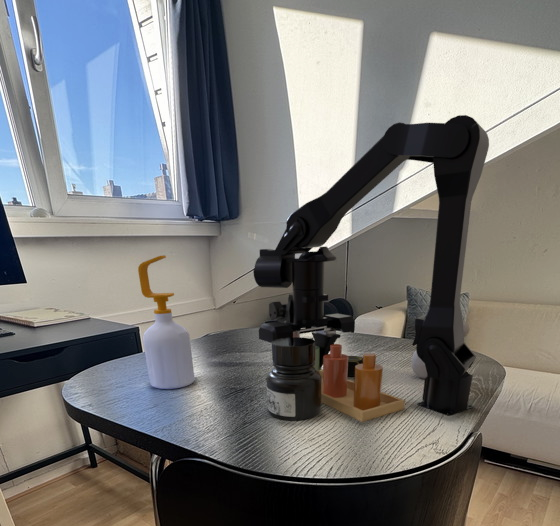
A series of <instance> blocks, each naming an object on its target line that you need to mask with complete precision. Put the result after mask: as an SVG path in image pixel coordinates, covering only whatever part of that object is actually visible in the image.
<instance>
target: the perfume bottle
mask: <svg viewBox="0 0 560 526" xmlns="http://www.w3.org/2000/svg"><path fill="white" fill-rule="evenodd" d="M463 328H464V338H466V337H467V336H468V335H469V333H470V324H469V323H468V322H467V321H465V320H463ZM410 367H411V369H412V371H413V373H414V374H415V376H416V377H418V378H420V379H422V380H425V378H426V377H427V371H426V367H425V363H424V362H423V361H422V360H421V359H420V358H419V357H418V355H417V351H416V350H414V352H413V354H412V356H411V360H410Z"/></svg>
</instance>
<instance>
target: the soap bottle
mask: <svg viewBox="0 0 560 526" xmlns="http://www.w3.org/2000/svg"><path fill="white" fill-rule="evenodd" d="M166 258H167V256H166V255H164V254H163V255H158V256H156V257H153V258H150V259H148V260H146V261H145V260H144V261H143V262H141V263H140V264H139V265H138V267H137V272H138V277H139V283H140V284H139V285H140V289H141V294H142V295H143V296H144V297H145V298H147V299H153V302H154V303H156V306H157V308H156V309H154V310H153V315H154V323H153V324H152V325H150V326H149V327H148V328H147V329H146V330H145V331H144V333H143V336H142V342H143V343H142V344H143V348H144V354H145V355H144V356H145V361H146V367H147V373H148V379H149V384H150V385H151V386H152V388H156V389H159V390H174V389H180V388H181V389H182V388H184V387H187V386H189V385H192V383H194V382H195V369H194V363H193V354H192V346H191V338H190V333H189V332H188V330H187V329H186V328H185V327H184V326H183V325H181V324H179V323H177V322H176V321H174V320H173V312H172V308H167V302H169V298H171V297H173V296H175V293H174V292H158V293H157V292H153V291H152V289H151V286H150V280H149V273H148V272H149V271H148V268H149V266H150V265H151V264H153V263H157V262H158V261H162V260H163V259H166Z"/></svg>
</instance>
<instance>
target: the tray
mask: <svg viewBox="0 0 560 526" xmlns="http://www.w3.org/2000/svg"><path fill="white" fill-rule="evenodd" d="M319 373H320V375H321V379H322V383H321V404H324V405H325V406H328V407H329V408H332V409H334V410H336V411H338V412H341V413H343V414H344V415H347V416H348V417H351V418H353V419H355V420H358V421H359V422H361V423H363V422H366V421H370V420H374V419H376V418H380V417H383V416H386V415H390V414H393V413H396V412H399V411H403V410H405V404H406V400H405V399H403V398H400V397H398V396H396V395H395V396H394V395H392V394H389V393H386V392H384V391H381V400H380V406H378V407H374V408H371V409H367V410H364V411H363V410H360V409H358V408H356V407H354V406H353V400H354V380H351V379H348V378H347V395H346V396H344V397H340V398H333V397H331V396H329V395H326V394H324V393H323V369H322V368H321V369H320V370H319Z"/></svg>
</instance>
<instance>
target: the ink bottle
mask: <svg viewBox="0 0 560 526" xmlns="http://www.w3.org/2000/svg"><path fill="white" fill-rule="evenodd" d="M303 337H304V336H303ZM303 337H301V336H300V337H290V338H280V339H277V340H274V341H272V343H271V360H272V366H273V368H272V369H271V371H270V372H268V374H267V376H266V399H267V400H266V401H267V413H268V415H269V416H270V417H272V418H273V419H276V420H280V421H285V422H302V421H307V420H312V419H314V418H317V417H318V416H320V415H321V413H322V403H321V383H322V379H321V375H320V373H319V372H318V371H317V370H316V369H315V368H314V367H313V366H314V365H315V340H314V338H313V339H310V338H303Z"/></svg>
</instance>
